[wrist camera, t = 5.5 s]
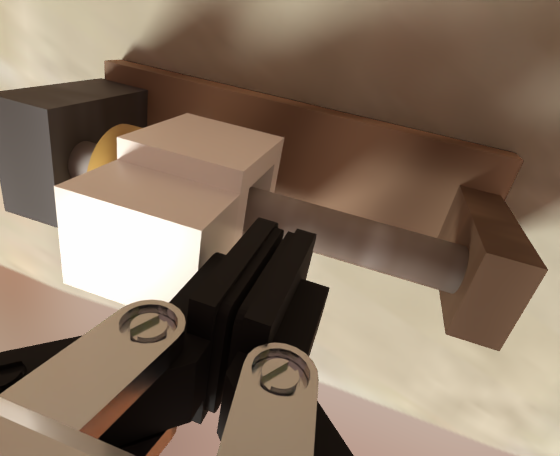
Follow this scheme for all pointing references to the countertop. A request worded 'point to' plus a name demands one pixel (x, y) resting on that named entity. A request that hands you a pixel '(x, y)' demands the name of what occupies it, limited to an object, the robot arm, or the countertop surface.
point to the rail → (305, 183)
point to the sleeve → (161, 206)
